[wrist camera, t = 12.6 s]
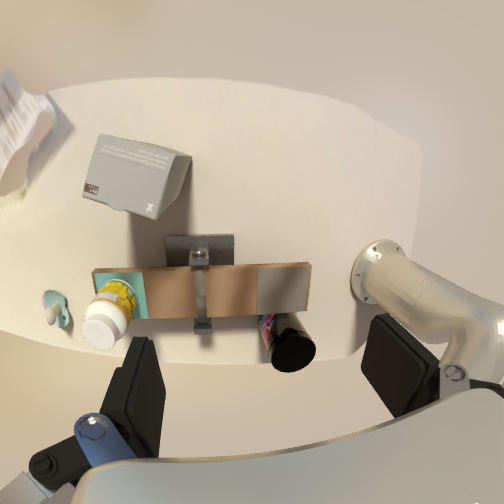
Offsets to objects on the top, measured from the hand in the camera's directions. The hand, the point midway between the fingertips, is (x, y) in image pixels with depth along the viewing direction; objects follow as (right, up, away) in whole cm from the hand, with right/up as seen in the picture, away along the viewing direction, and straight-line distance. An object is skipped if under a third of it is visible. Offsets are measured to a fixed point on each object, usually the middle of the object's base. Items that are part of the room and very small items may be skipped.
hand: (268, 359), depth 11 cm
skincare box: (-14, +16, +26) cm, 33 cm away
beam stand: (-9, +1, +31) cm, 32 cm away
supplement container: (+3, -7, +36) cm, 37 cm away
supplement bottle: (-18, -2, +23) cm, 30 cm away
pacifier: (-36, -5, +29) cm, 46 cm away
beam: (-8, -1, +26) cm, 27 cm away
